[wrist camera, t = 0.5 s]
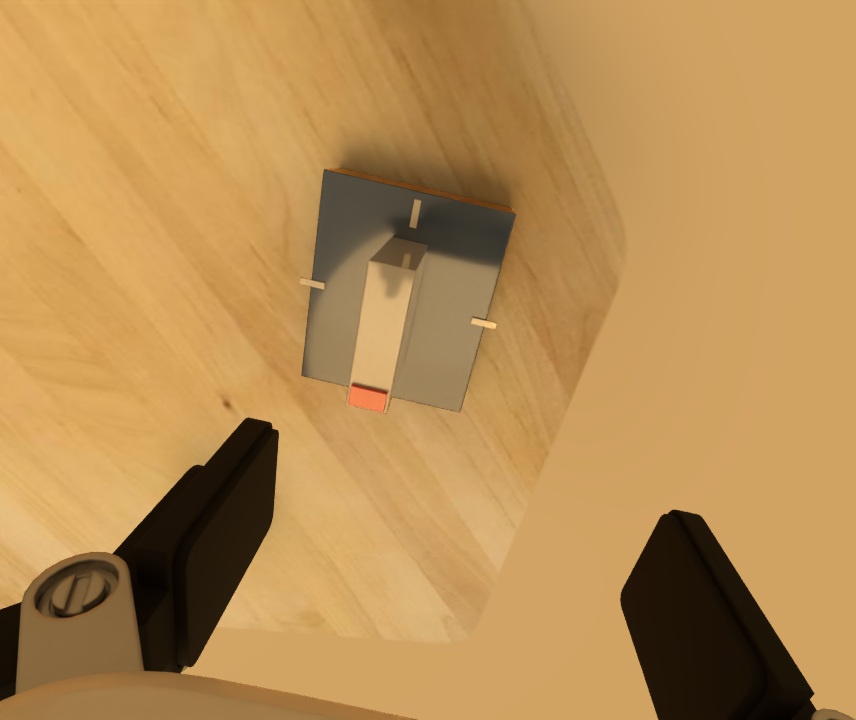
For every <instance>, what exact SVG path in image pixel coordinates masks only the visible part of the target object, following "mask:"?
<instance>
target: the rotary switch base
mask: <svg viewBox="0 0 856 720" xmlns="http://www.w3.org/2000/svg"><path fill="white" fill-rule="evenodd" d="M515 216H516V214H515V213H514V211H513V210H512V208H510V207H505V206H501V205H497V204H493V203H488V202H484V201H480V200H475V199H471V198H467V197H463V196H458V195H454V194H450V193H445V192H441V191H437V190H433V189H428V188H424V187H420V186H416V185H411V184H407V183H403V182H398V181H394V180H390V179H386V178H381V177H377V176H373V175H368V174H364V173H360V172H356V171H351V170H347V169H343V168H333V169H324V172H323V181H322V190H321V200H320V209H319V218H318V227H317V236H316V246H315V255H314V264H313V273H312V280H311V279H307V278H303V277H301V278H300V284H302V285H307V286H311V292H310V301H309V310H308V319H307V329H306V338H305V347H304V356H303V365H302V376H304V377H308V378H312V379H317V380H321V381H325V382H330V383H334V384H338V385H343V386H347V387H349V380H350V374H351V368H352V361H353V355H354V349H355V342H356V336H357V330H358V323H359V317H360V311H361V305H362V298H363V292H364V286H365V279H366V273H367V267H368V261H369V260H370V259H371V258H372V257H373V256H374V255H375V254H376V253H377V252H378V251H379V250H380V248H381V247H382V246H383V245H384V244H385V243H386V242H387V241H388V240H389V239H390V238H391V237H395V238H400V239H404V240H408V241H412V242H417V243H421V244H425V245H428V251H427V256H426V261H425V265H424V270H423V275H422V280H421V284H420V289H419V294H418V299H417V303H416V308H415V313H414V318H413V322H412V327H411V332H410V337H409V341H408V346H407V351H406V355H405V360H404V364H403V367H402V370H401V373H400V376H399V379H398V382H397V385H396V388H395V391H394V394H393V397H395V398H399V399H403V400H408V401H412V402H416V403H421V404H425V405H429V406H434V407H438V408H442V409H446V410H451V411H455V412H460V411H461V408H462V404H463V401H464V397H465V394H466V390H467V386H468V383H469V379H470V376H471V372H472V369H473V365H474V362H475V358H476V354H477V351H478V347H479V344H480V340H481V337H482V333H483V330H484V327H487V328H492V329H495V328H496V325H497V323H496V322H492V321H488V320H486V319H487V315H488V312H489V308H490V305H491V301H492V298H493V294H494V291H495V287H496V283H497V280H498V276H499V273H500V269H501V266H502V262H503V259H504V255H505V251H506V248H507V244H508V241H509V237H510V234H511V230H512V227H513V223H514V220H515Z"/></svg>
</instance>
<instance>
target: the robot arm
mask: <svg viewBox="0 0 856 720" xmlns="http://www.w3.org/2000/svg"><path fill="white" fill-rule="evenodd" d="M278 439H279V432H278V430H274V429H272V423H270V422H266V421H262V420H257V419H253V418H246V419H245V420H244V421H243V422H242V423H241V424H240V425H239V426H238V428H237V429H236V430H235V431H234V432H233V433H232V434H231V436H230V437H229V438H228V439H227V440H226V441H225V442H224V444H223V445H222V446H221V447H220V448H219V449H218V451H217V452H216V453H215V454H214V455H213V456H212V457H211V459H210V460H209V461H208V462H207V463H206V464H205V465H204V466H201V465H195V466H193V467H192V468H190V469H189V470H188V471H187V472H186V473H185V474H184V475H183V477H182V478H181V479H180V480H179V481H178V482H177V483H176V484H175V485H174V487H173V488H172V489H171V490H170V491H169V492H168V493H167V494H166V495H165V496H164V498H163V499H162V500H161V501H160V502H159V503H158V504H157V505H156V506H155V507H154V509H153V510H152V511H151V512H150V513H149V514H148V515H147V516H146V517H145V518H144V520H143V521H142V522H141V523H140V524H139V525H138V526H137V527H136V528H135V529H134V531H133V532H132V533H131V534H130V535H129V536H128V537H127V538H126V539H125V540H124V542H123V543H122V544H121V545H120V546H119V547H118V548H117V549H116V550H115V552H114V553H113V554H110V553H107V552H90V553H85V554H79V555H75V556H73V557H70V558H67V559H64V560H62V561H60V562H58V563H56V564H55V565H53V566H51V567H49V568H48V569H46V570H45V571H44V572H42V573H41V574H40V575H39V576H38V577H37V578H35V579H34V580H33V582H32V583H31V584H30V586H29V587H28V589H27V590H26V591H25V593H24V597H23V600H22V602H20V603H17V604H15V605H12V606H9V607H6V608H3V609H1V610H0V720H416V719H412V718H407V717H402V716H398V715H393V714H388V713H383V712H379V711H374V710H369V709H364V708H360V707H355V706H350V705H345V704H341V703H335V702H331V701H326V700H322V699H317V698H312V697H307V696H302V695H298V694H293V693H288V692H283V691H278V690H272V689H267V688H262V687H257V686H251V685H246V684H241V683H236V682H231V681H225V680H220V679H215V678H208V677H201V676H194V675H186V674H180V673H181V672H182V670H183V668H184V666H187V667H192V666H193V665H194V664H195V663H196V661H197V660H198V658H199V656H200V655H201V653H202V651H203V649H204V647H205V645H206V643H207V641H208V640H209V638H210V636H211V634H212V633H213V631H214V629H215V627H216V625H217V623H218V622H219V620H220V618H221V616H222V614H223V612H224V611H225V609H226V607H227V605H228V603H229V602H230V600H231V598H232V596H233V594H234V592H235V591H236V589H237V587H238V585H239V583H240V581H241V580H242V578H243V576H244V574H245V572H246V570H247V569H248V567H249V565H250V563H251V561H252V559H253V558H254V556H255V554H256V552H257V550H258V549H259V547H260V545H261V543H262V541H263V539H264V538H265V536H266V534H267V532H268V530H269V528H270V525H271V522H272V518H273V510H274V496H275V482H276V468H277V453H278ZM620 601H621V607H622V611H623V614H624V617H625V620H626V622H627V626H628V629H629V631H630V635H631V637H632V641H633V644H634V647H635V650H636V653H637V656H638V659H639V662H640V665H641V668H642V671H643V674H644V677H645V680H646V683H647V686H648V689H649V693H650V696H651V699H652V702H653V704H654V708H655V711H656V714H657V717H658V719H659V720H855V719H853V718H852V717H850V716H848V715H845V714H843V713H841V712H838V711H836V710H830V709H821V710H818V711H817V710H816V709H815V707H814V705H813V704H812V702H811V701H810V698H811V697H812V696H813V695H814V692H813V691H812V689H811V687H810V686H809V684H808V683H807V681H806V679H805V678H804V676H803V675H802V673H801V672H800V670H799V669H798V667H797V665H796V664H795V662H794V661H793V659H792V657H791V656H790V654H789V653H788V651H787V650H786V648H785V646H784V645H783V643H782V642H781V640H780V639H779V637H778V636H777V634H776V633H775V631H774V629H773V628H772V626H771V624H770V623H769V621H768V620H767V618H766V617H765V615H764V613H763V612H762V610H761V609H760V607H759V606H758V604H757V602H756V601H755V599H754V598H753V596H752V595H751V593H750V591H749V590H748V588H747V587H746V585H745V584H744V582H743V580H742V579H741V577H740V576H739V574H738V573H737V571H736V570H735V568H734V566H733V565H732V563H731V562H730V560H729V558H728V557H727V555H726V554H725V552H724V551H723V549H722V547H721V546H720V544H719V543H718V541H717V540H716V538H715V536H714V535H713V533H712V532H711V530H710V529H709V527H708V525H707V524H706V522H705V521H704V519H703V518H702V517H701V516H700V515H698V514H693V513H689V512H683V511H680V510H671V511H670V512H669V513H668V514H664V515H662V516H661V517H660V519H659V521H658V523H657V525H656V527H655V529H654V531H653V532H652V534H651V536H650V538H649V540H648V542H647V544H646V546H645V548H644V550H643V551H642V553H641V555H640V557H639V559H638V561H637V563H636V565H635V567H634V568H633V570H632V572H631V574H630V576H629V578H628V580H627V582H626V583H625V585H624V587H623V589H622V592H621V599H620Z"/></svg>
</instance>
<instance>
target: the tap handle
mask: <svg viewBox="0 0 856 720" xmlns="http://www.w3.org/2000/svg"><path fill="white" fill-rule="evenodd" d="M427 251H428V245H425V244H421V243H417V242H412V241H408V240H404V239H400V238H395V237H391V238H390V239H389V240H388V241H387V242H386V243H385V244H384V245H383V246H382V247H381V248H380V250H379V251H378V252H377V253H376V254H375V255H374V256H373V257H372V258H371V259H370V260H369V261H368V267H367V273H366V279H365V286H364V292H363V298H362V305H361V311H360V317H359V323H358V330H357V336H356V342H355V349H354V355H353V361H352V368H351V374H350V380H349V387H348V393H347V399H346V405H350V406H354V407H358V408H363V409H367V410H371V411H375V412H380V413H384V414H387V412H388V409H389V406H390V403H391V400H392V397H393V394H394V391H395V388H396V385H397V382H398V379H399V376H400V373H401V370H402V367H403V364H404V360H405V355H406V351H407V346H408V341H409V337H410V332H411V327H412V322H413V318H414V313H415V308H416V303H417V299H418V294H419V289H420V284H421V280H422V275H423V270H424V265H425V261H426V256H427Z"/></svg>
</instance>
